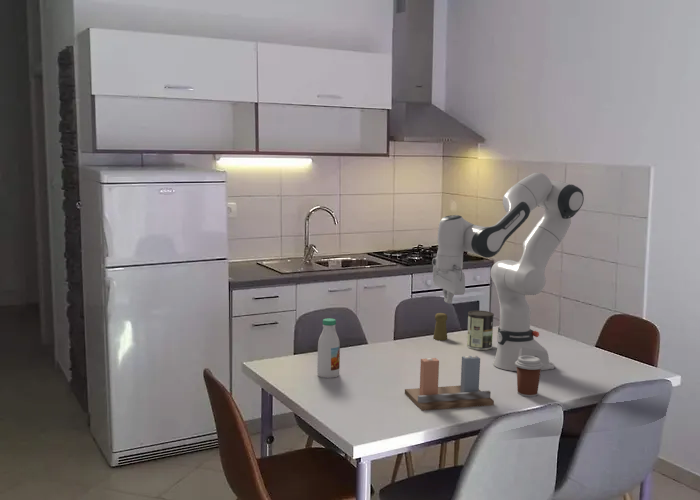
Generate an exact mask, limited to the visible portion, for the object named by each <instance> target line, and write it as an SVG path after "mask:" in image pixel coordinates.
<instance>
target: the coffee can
mask: <svg viewBox="0 0 700 500" xmlns="http://www.w3.org/2000/svg"><path fill="white" fill-rule="evenodd" d="M467 315H468V317H467V336H466V338H467V341H466V343H467V344H466V347H467V348H468V349H471V350H477V351H488V350H491V349H493V333H494V332H493V331H494V315H495V314H494V313H493V312H491V311H487V310H470V311H468V312H467Z"/></svg>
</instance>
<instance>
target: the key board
mask: <svg viewBox="0 0 700 500" xmlns="http://www.w3.org/2000/svg"><path fill="white" fill-rule="evenodd" d="M460 390H461V384H460V385H449V386H447V385H446V386H438V394H433V395H420V387H417V388H405V389H404V395H405V396H407V398H408V399H409V400H410V401H412V403H414V404H415V405H416V406H417V408H419V410H421V411H422V412H424V411H435V410H448V409H461V408H472V407H474V408H475V407H490V406H494V405H495V404H494V403H495V401H494V399H493V398H491V391H490V390H481V389H479V391H476V392H462V393H460Z"/></svg>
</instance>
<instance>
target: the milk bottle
mask: <svg viewBox="0 0 700 500" xmlns="http://www.w3.org/2000/svg"><path fill="white" fill-rule="evenodd" d="M336 324H337V320H336V319H335V318H331V317H330V318H327V317H326V318H324V319H322V332H321V333H320V336H319V338H318V344H317V366H316V367H317V371H316V373H317V376H318V377H320V378H324V379H333V378H337V377H339V375H340V367H341V365H340V362H341V361H340V360H341V359H340V355H341V354H340V351H341V347H340V346H341V345H340V344H341V343H340V339H339V336H338V334H337V330H336V326H337V325H336Z"/></svg>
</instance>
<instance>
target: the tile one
mask: <svg viewBox="0 0 700 500" xmlns="http://www.w3.org/2000/svg"><path fill="white" fill-rule="evenodd" d="M439 369H440V360H439V359H437V358H436V357H431V358H420V373H419V375H420V376H419V388H420V395H433V394H438V387H439V373H440V372H439V371H440V370H439Z"/></svg>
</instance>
